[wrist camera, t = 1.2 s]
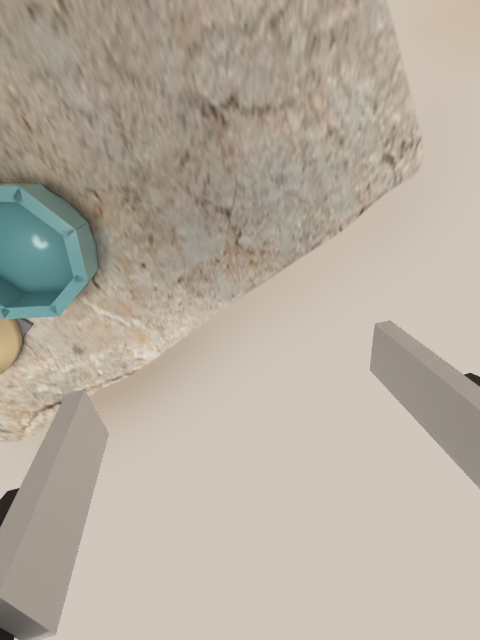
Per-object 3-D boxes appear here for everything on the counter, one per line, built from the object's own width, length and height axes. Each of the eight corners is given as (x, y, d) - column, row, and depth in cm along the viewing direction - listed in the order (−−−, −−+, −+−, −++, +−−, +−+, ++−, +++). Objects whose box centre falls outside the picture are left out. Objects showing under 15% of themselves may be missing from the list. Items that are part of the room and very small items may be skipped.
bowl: (-58, 247, 29) (-101, 261, 24) (6, 153, 26) (-29, 149, 22) (57, 317, 34) (39, 338, 30) (120, 244, 32) (110, 256, 27)
